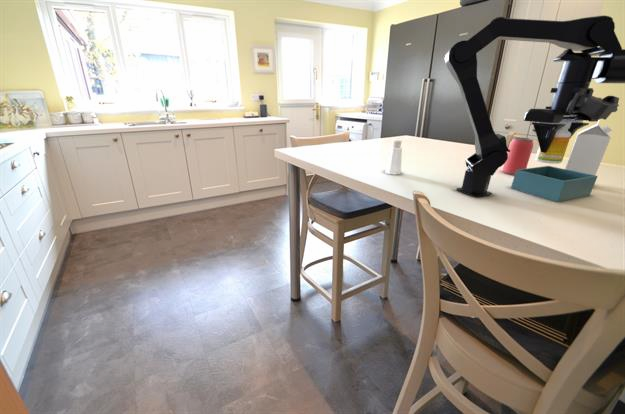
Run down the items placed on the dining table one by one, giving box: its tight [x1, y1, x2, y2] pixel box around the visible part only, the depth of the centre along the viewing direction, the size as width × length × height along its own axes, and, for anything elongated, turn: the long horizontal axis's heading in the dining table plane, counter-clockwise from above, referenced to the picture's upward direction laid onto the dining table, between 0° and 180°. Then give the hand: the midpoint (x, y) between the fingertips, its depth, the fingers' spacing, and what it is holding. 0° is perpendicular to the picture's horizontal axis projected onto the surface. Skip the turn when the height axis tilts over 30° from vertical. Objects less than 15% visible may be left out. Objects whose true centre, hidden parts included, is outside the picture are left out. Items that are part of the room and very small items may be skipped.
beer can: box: [502, 136, 534, 176], centre depth 97 cm, size 7×7×12 cm
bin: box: [510, 165, 598, 203], centre depth 80 cm, size 15×12×6 cm
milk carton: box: [564, 119, 613, 176], centre depth 85 cm, size 7×7×19 cm
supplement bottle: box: [534, 121, 572, 165], centre depth 69 cm, size 5×5×10 cm
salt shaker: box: [384, 139, 403, 176], centre depth 95 cm, size 5×5×11 cm
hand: (550, 151), depth 70 cm, fingers closed on supplement bottle, 5 cm apart
